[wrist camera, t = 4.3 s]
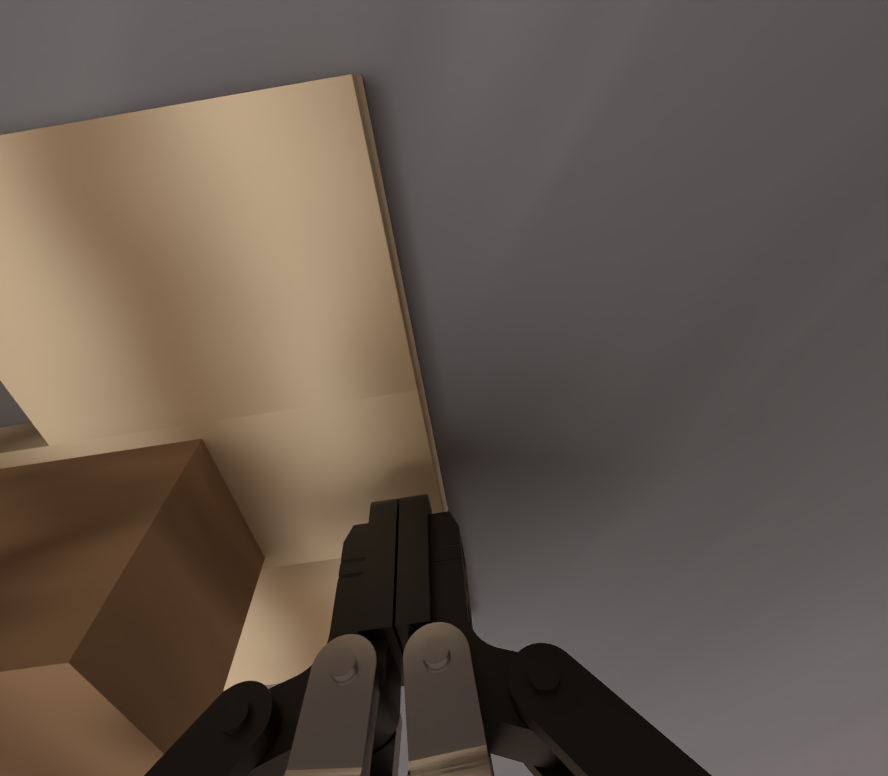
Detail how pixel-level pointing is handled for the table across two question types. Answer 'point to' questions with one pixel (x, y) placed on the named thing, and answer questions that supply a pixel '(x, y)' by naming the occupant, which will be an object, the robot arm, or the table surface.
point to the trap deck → (222, 324)
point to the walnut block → (116, 606)
